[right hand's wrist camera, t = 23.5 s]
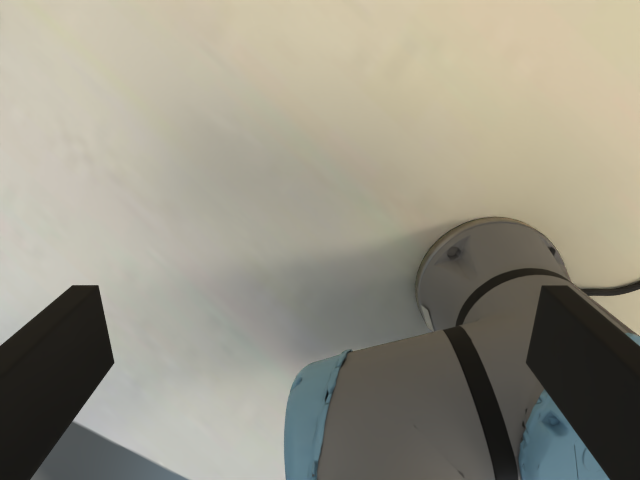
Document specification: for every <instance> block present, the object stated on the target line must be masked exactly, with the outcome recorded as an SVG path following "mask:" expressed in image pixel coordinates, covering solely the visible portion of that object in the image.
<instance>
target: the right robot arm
mask: <svg viewBox="0 0 640 480" xmlns="http://www.w3.org/2000/svg"><path fill="white" fill-rule="evenodd" d="M638 289H640V282H638V283H635V284H632V285H629V286H625V287H621V288H616V289H581V290H580V289H579V288H578V287H577V286H575V285H574V284H573V283H572V282H571V279H570V277H569V275H568V272H567V270H566V267H565V265H564V262H563V260H562V258H561V256H560V254H559V252H558V251H557V249H556V248H555V246H554V245H553V244H552V243H551V242H550V241H549V240H548V238H546V237H545V236H544V235H543V234H541V233H540V232H538V231H537V230H536V229H534V228H532V227H531V226H529V225H527V224H525V223H523V222H520V221H518V220H514V219H509V218H501V217H490V218H482V219H477V220H473V221H470V222H467V223H465V224H462V225H460V226H458V227H456V228H454V229H452V230H451V231H449V232H448V233H446V234H445V235H444V236H443V237H441V238H440V239H439V240H438V241H437V242H436V243H435V244H434V245H433V246H432V247H431V248H430V250H429V251H428V253H427V254H426V256H425V257H424V259H423V261H422V263H421V265H420V267H419V270H418V273H417V277H416V284H415V293H416V300H417V304H418V307H419V310H420V312H421V314H422V317H423V319H424V321H425V323H426V324H427V327H428V328H429V329H430V330H431V331H432V332H431V333H427V334H423V335H419V336H415V337H411V338H407V339H402V340H398V341H394V342H390V343H386V344H382V345H377V346H373V347H369V348H365V349H361V350H356V351H352V350H351V349H350V350H345V351H344V352H342V354H340V355H337V356H334V357H331V358H327V359H324V360H321V361H317V362H314V363H311V364H309V365H307V366H306V367H304V368H303V369H302V370H301V371H300V372H299V373H298V375H297V376H296V378H295V380H294V382H293V384H292V387H291V391H290V394H289V397H288V402H287V408H286V416H285V430H284V459H285V474H286V480H640V336H638V335H637V334H636V333H635V332H633V331H632V330H631V329H630V328H628V327H627V326H626V325H624V324H623V323H622V322H621V321H619V320H618V319H617V318H616V317H614V316H613V315H612V314H611V313H609V312H608V311H607V310H605V309H604V308H603V307H602V306H600V305H599V304H598V303H597V302H595V301H594V300H593V299H591V298H590V297H589V296H614V295H621V294H625V293H629V292H632V291H636V290H638ZM113 364H114V359H113V354H112V349H111V344H110V339H109V334H108V330H107V325H106V320H105V315H104V310H103V305H102V301H101V296H100V291H99V286H98V285H72V286H71V287H70V288H69V289H68V290H66V291H65V292H64V293H63V294H62V295H60V296H59V297H58V298H57V299H56V300H54V301H53V302H52V303H51V304H50V305H48V306H47V307H46V308H45V309H44V310H43V311H41V312H40V313H39V314H38V315H37V316H35V317H34V318H33V319H32V320H31V321H29V322H28V323H27V324H26V325H25V326H23V327H22V328H21V329H20V330H19V331H18V332H16V333H15V334H14V335H13V336H12V337H10V338H9V339H8V340H7V341H6V342H4V343H3V344H2V345H1V346H0V480H30V479H31V478H32V476H33V475H34V474H35V472H36V471H37V469H38V468H39V467H40V465H41V464H42V462H43V461H44V460H45V458H46V457H47V456H48V454H49V453H50V451H51V450H52V449H53V447H54V446H55V444H56V443H57V442H58V440H59V439H60V438H61V436H62V435H63V433H64V432H65V431H66V429H67V428H68V426H69V425H70V424H71V422H72V421H73V419H74V418H75V417H76V415H77V414H78V413H79V411H80V410H81V408H82V407H83V406H84V404H85V403H86V401H87V400H88V399H89V397H90V396H91V395H92V393H93V392H94V390H95V389H96V388H97V386H98V385H99V383H100V382H101V381H102V379H103V378H104V376H105V375H106V374H107V372H108V371H109V370H110V368H111V367H112V365H113Z"/></svg>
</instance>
